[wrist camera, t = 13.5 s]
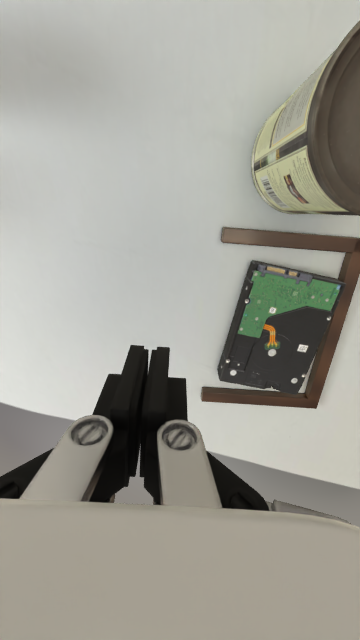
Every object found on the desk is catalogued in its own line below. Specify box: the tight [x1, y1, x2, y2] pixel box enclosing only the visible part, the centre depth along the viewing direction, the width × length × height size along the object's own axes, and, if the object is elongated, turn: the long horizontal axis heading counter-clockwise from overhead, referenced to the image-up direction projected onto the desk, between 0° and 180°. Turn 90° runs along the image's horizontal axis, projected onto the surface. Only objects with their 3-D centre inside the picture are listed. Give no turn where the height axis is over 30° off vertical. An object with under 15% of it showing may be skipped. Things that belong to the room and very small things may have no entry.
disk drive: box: [218, 260, 346, 395], centre depth 33 cm, size 10×3×15 cm
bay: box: [201, 227, 360, 409], centre depth 34 cm, size 22×16×1 cm
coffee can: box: [251, 21, 360, 216], centre depth 21 cm, size 10×10×14 cm
